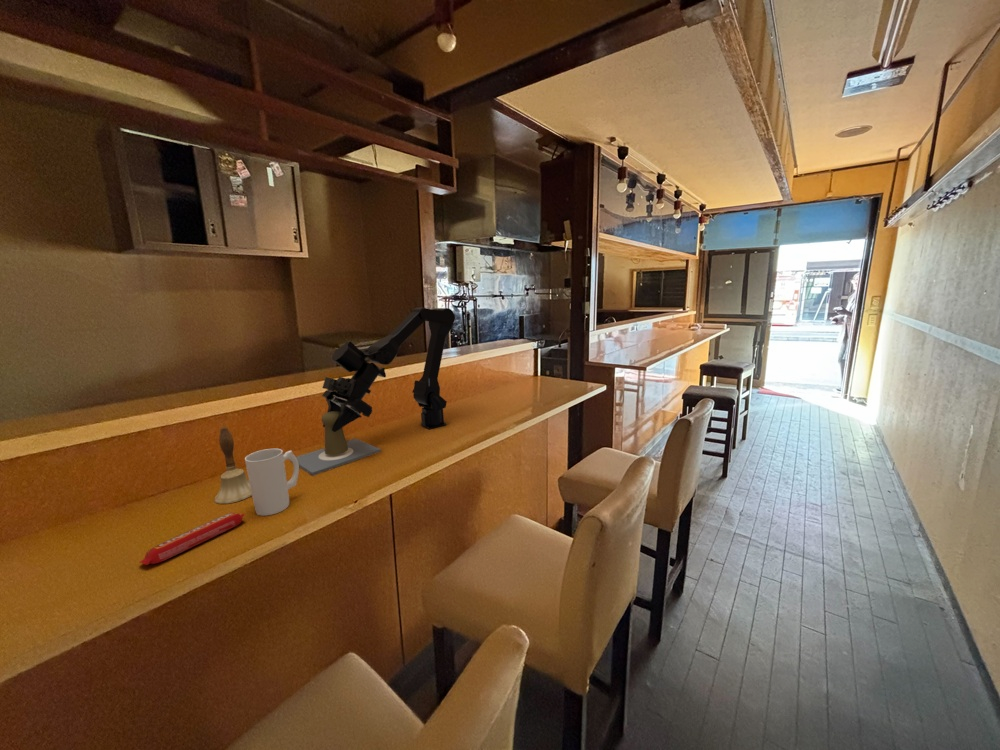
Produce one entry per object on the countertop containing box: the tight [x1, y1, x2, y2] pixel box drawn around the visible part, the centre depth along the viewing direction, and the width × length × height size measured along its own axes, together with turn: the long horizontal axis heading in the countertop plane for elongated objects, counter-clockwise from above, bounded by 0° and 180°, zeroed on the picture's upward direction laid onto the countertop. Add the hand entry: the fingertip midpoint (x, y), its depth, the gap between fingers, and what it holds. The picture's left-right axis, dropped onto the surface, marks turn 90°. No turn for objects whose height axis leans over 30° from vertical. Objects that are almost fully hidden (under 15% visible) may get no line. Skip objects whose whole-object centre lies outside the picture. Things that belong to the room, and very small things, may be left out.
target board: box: [289, 438, 381, 476], centre depth 110 cm, size 19×14×1 cm
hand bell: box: [213, 426, 252, 505], centre depth 89 cm, size 8×8×16 cm
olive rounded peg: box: [321, 411, 348, 455], centre depth 109 cm, size 6×6×11 cm
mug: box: [244, 447, 300, 517], centre depth 84 cm, size 10×7×12 cm, turn 147°
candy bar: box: [139, 512, 246, 566], centre depth 73 cm, size 16×4×3 cm, turn 150°
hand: (328, 429), depth 108 cm, fingers closed on olive rounded peg, 5 cm apart
